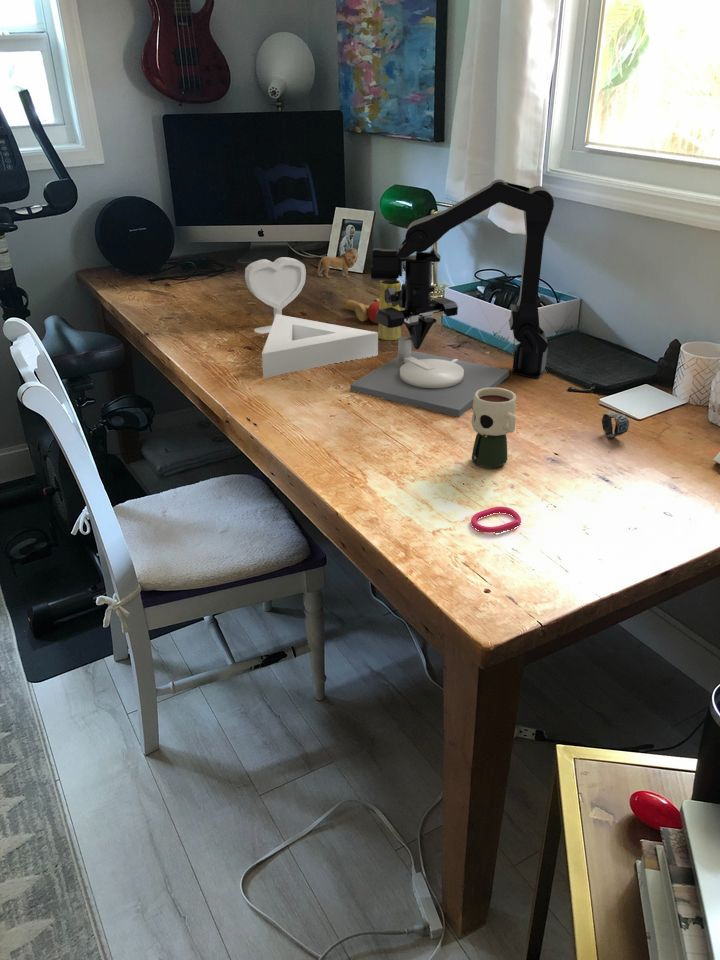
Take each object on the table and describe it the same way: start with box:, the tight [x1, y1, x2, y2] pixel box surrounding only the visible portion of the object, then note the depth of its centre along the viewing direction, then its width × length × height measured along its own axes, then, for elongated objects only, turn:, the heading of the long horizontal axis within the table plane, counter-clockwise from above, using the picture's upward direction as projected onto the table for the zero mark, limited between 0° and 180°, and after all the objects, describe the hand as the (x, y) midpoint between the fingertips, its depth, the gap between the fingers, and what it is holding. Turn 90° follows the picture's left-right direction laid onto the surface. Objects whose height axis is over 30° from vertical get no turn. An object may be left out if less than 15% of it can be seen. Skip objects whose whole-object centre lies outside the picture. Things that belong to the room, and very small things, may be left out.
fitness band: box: [470, 506, 522, 534], centre depth 118 cm, size 8×6×2 cm
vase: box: [377, 279, 402, 341], centre depth 193 cm, size 6×6×14 cm
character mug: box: [470, 387, 517, 469], centre depth 132 cm, size 11×7×13 cm, turn 30°
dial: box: [397, 336, 464, 388], centre depth 168 cm, size 18×14×6 cm
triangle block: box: [261, 314, 379, 379], centre depth 180 cm, size 30×26×6 cm
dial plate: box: [349, 350, 510, 418], centre depth 168 cm, size 26×26×2 cm
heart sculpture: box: [244, 256, 307, 335], centre depth 199 cm, size 16×5×18 cm, turn 116°
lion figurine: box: [314, 247, 359, 280], centre depth 248 cm, size 15×5×9 cm, turn 105°
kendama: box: [345, 298, 379, 325], centre depth 210 cm, size 8×6×18 cm
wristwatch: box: [601, 411, 630, 438], centre depth 143 cm, size 3×5×5 cm, turn 16°
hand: (416, 348), depth 175 cm, fingers closed
